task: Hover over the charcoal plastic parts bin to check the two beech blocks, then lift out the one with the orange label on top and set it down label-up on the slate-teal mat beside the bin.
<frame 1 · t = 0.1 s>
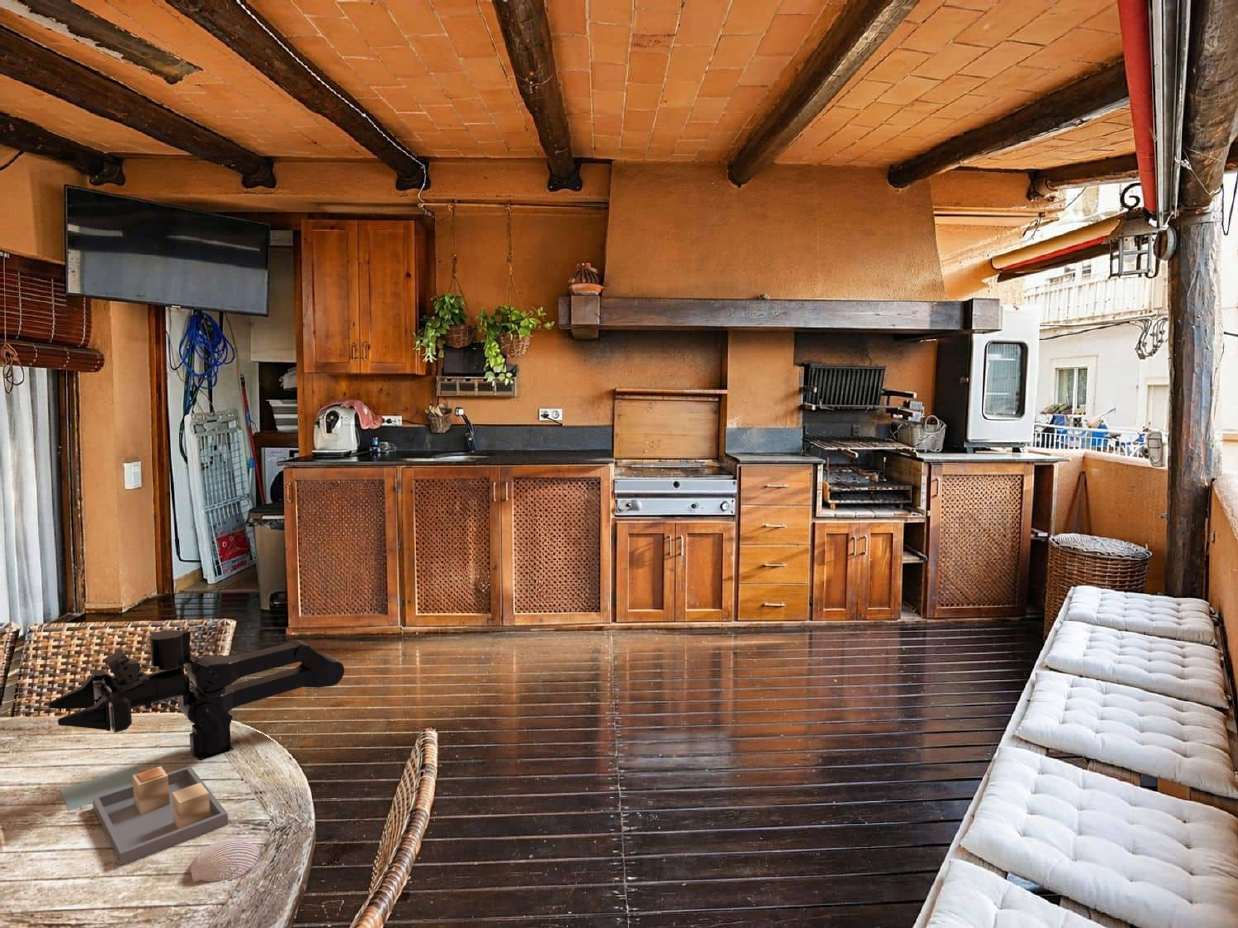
hand: (53, 713, 132), 17 cm above the table, tool horizontal, fingers open, 9 cm apart
labelled block: (152, 804, 133), resting on parts bin
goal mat: (104, 789, 138), on the table
plain block: (192, 822, 127), resting on parts bin
seashell: (224, 867, 117), on the table
parts bin: (159, 818, 129), on the table
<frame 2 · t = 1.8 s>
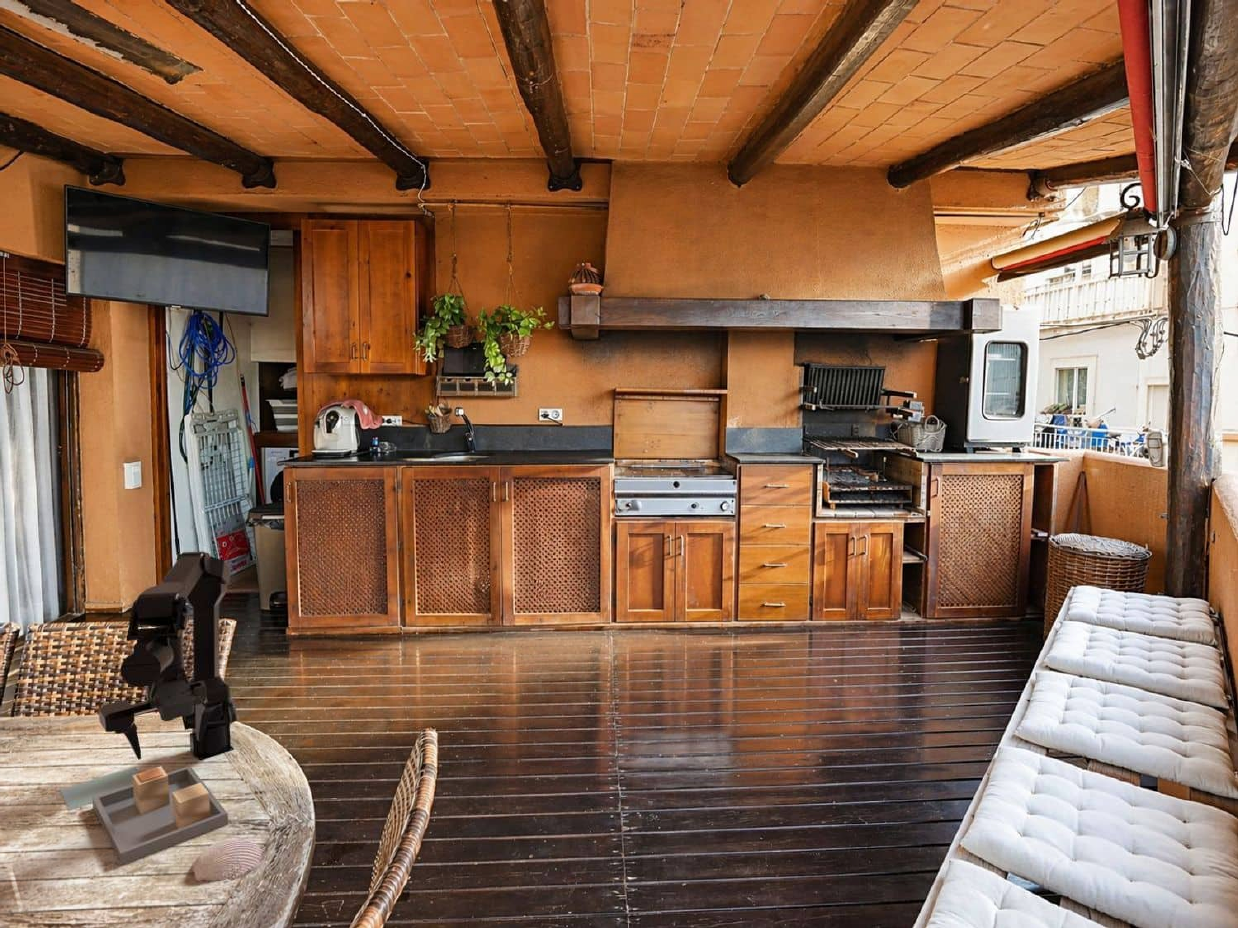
hand: (169, 749, 128), 13 cm above the table, tool pointing down, fingers open, 9 cm apart
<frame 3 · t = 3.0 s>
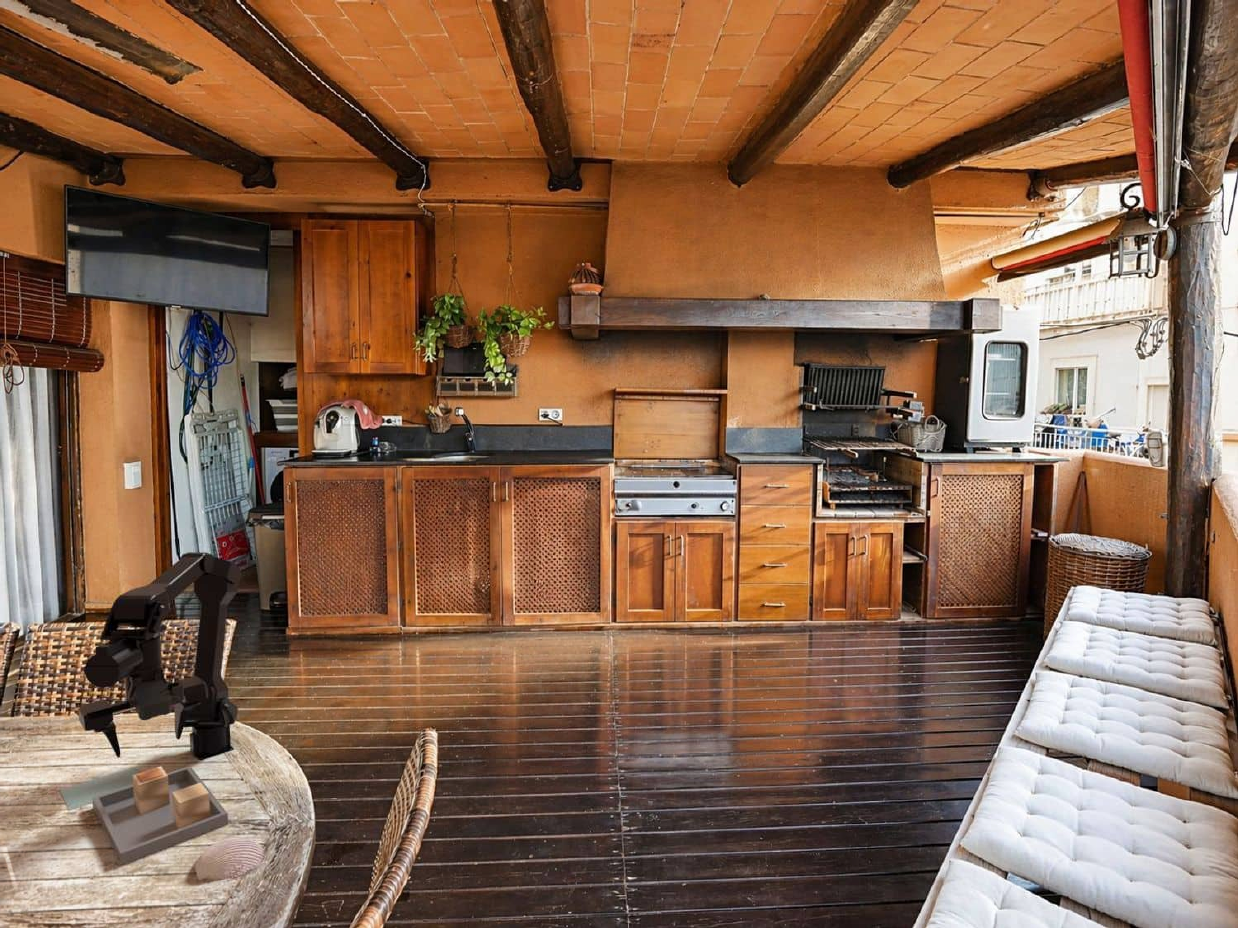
hand: (148, 747, 131), 11 cm above the table, tool pointing down, fingers open, 9 cm apart
nothing on the table moved.
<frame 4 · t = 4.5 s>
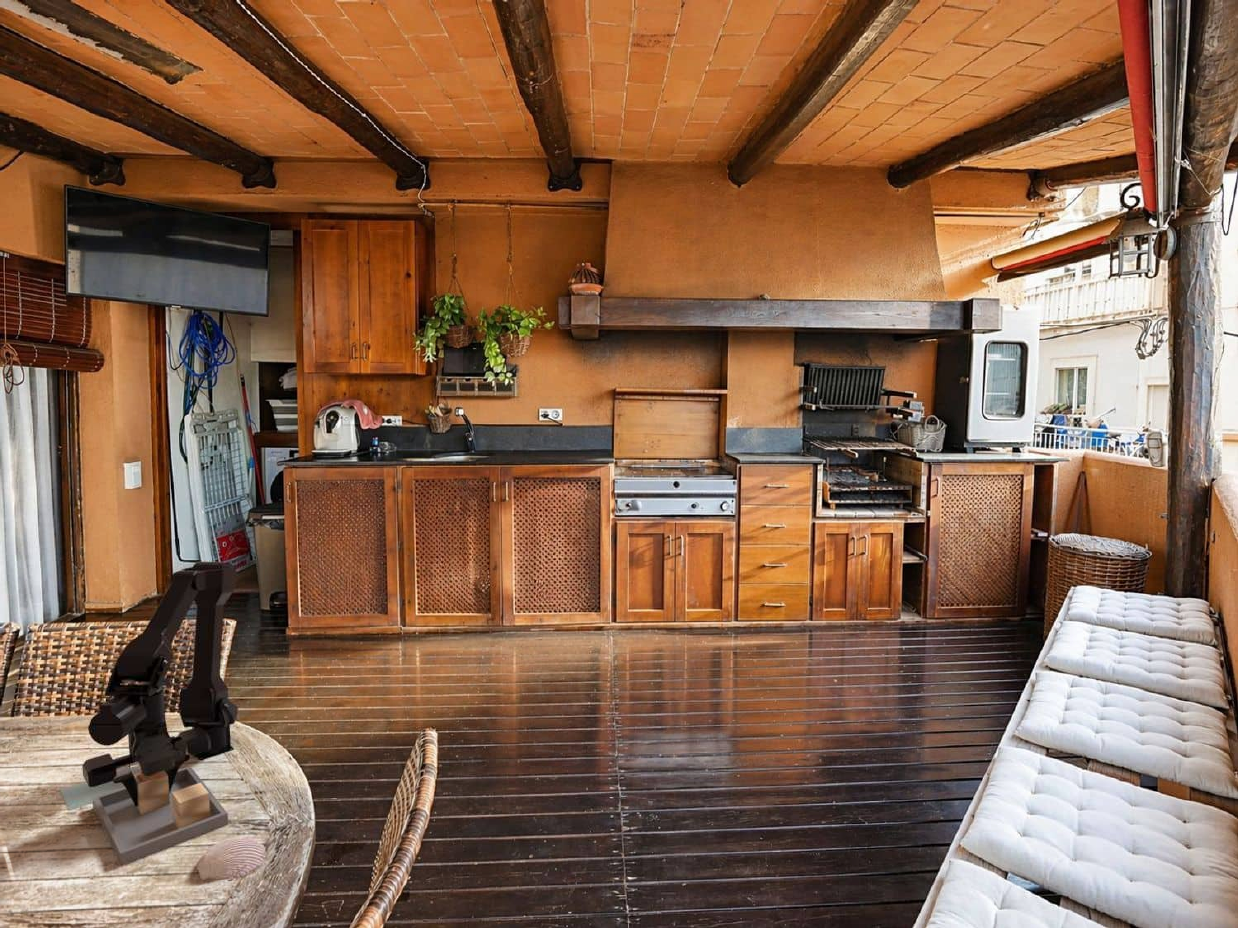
hand: (151, 799, 133), 1 cm above the table, tool pointing down, fingers closed on labelled block, 4 cm apart
labelled block: (152, 804, 133), point 1 cm above the table, touching gripper, parts bin
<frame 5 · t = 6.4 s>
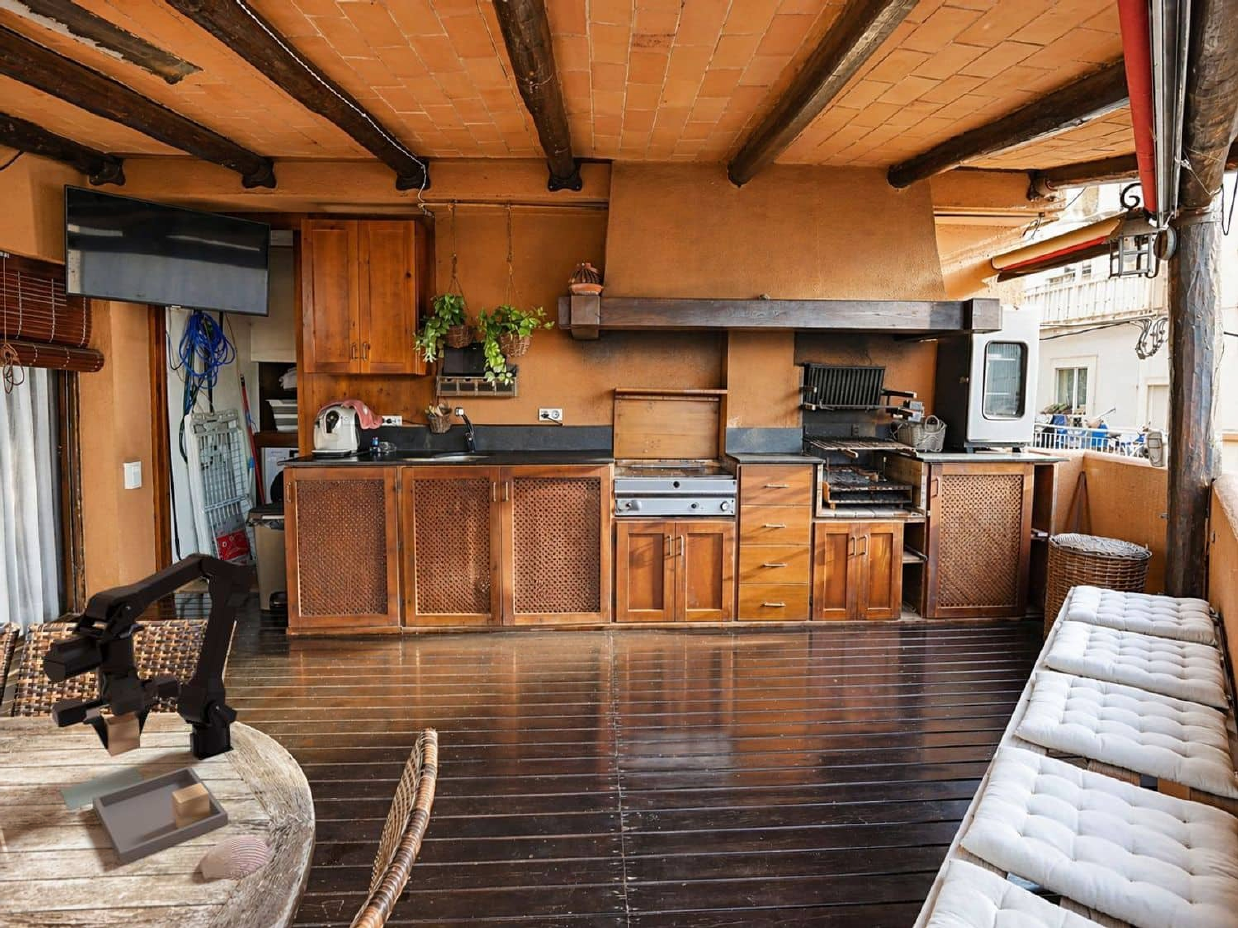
hand: (122, 743, 134), 10 cm above the table, tool pointing down, fingers closed on labelled block, 4 cm apart
labelled block: (122, 747, 134), point 10 cm above the table, touching gripper
when the fingers open (3 cm above the table, at t = 8.5 s): labelled block drops 1 cm, resting on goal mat.
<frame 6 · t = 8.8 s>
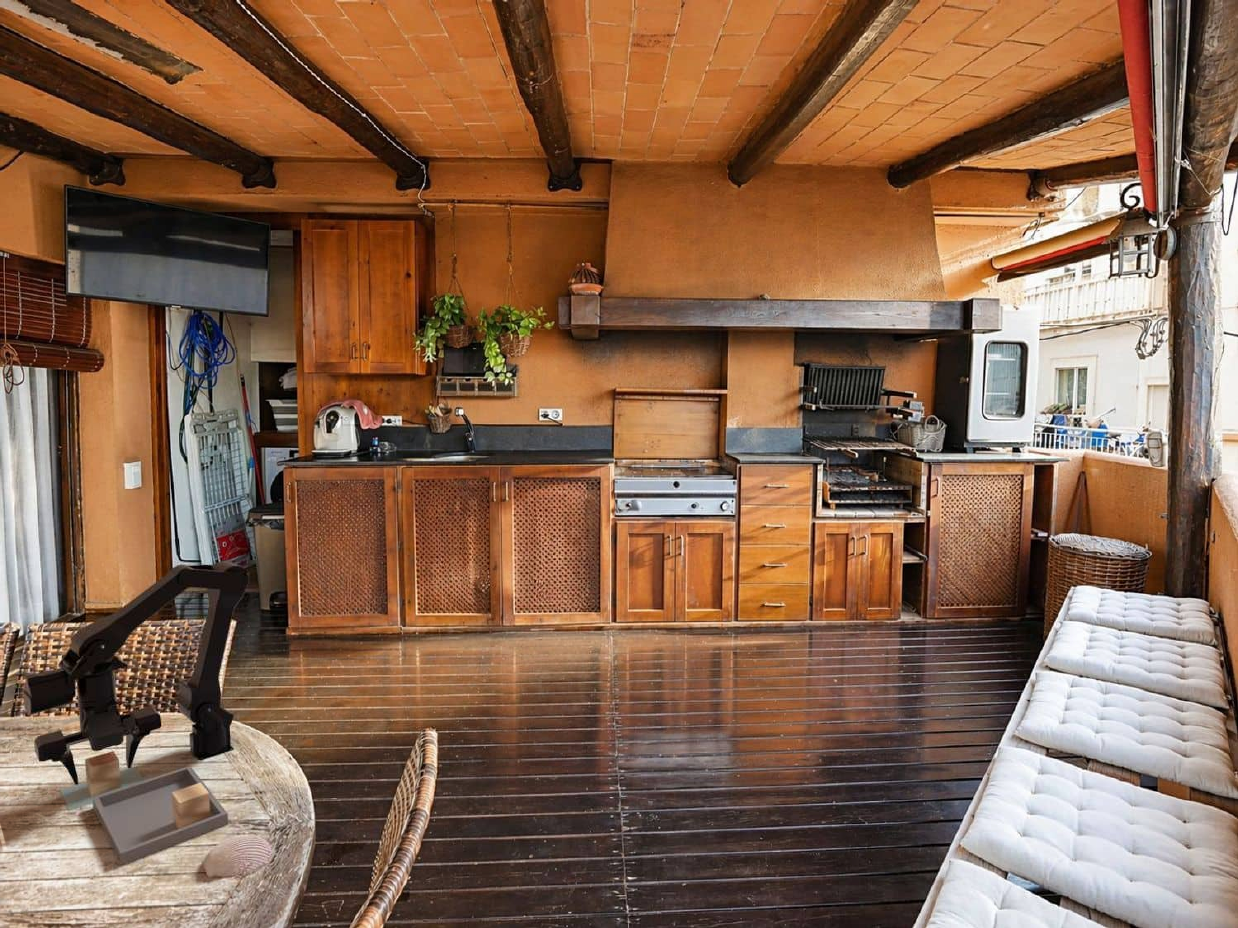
hand: (103, 775, 138), 3 cm above the table, tool pointing down, fingers open, 8 cm apart
labelled block: (103, 787, 138), resting on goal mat
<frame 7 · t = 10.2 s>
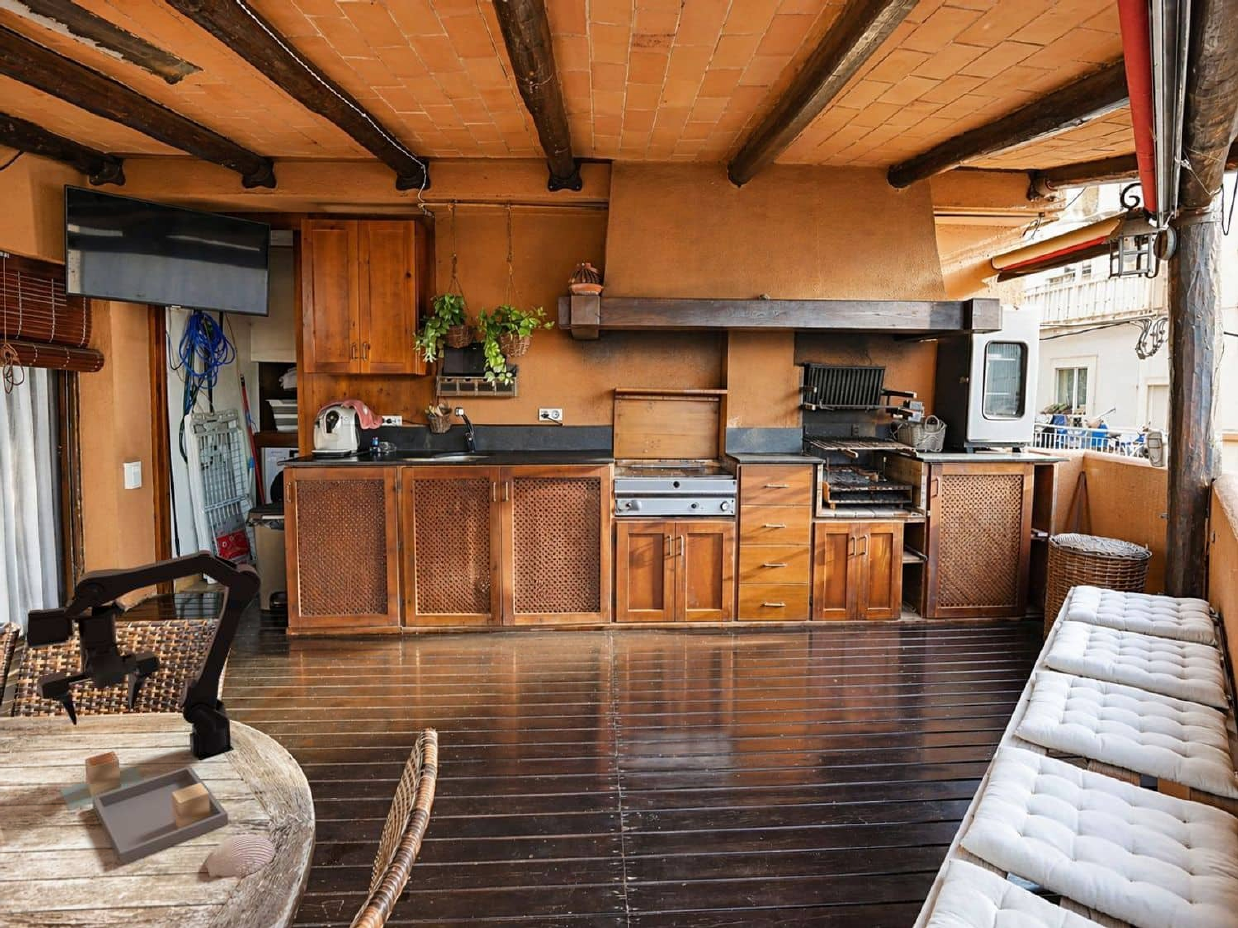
hand: (104, 716, 142), 12 cm above the table, tool pointing down, fingers open, 9 cm apart
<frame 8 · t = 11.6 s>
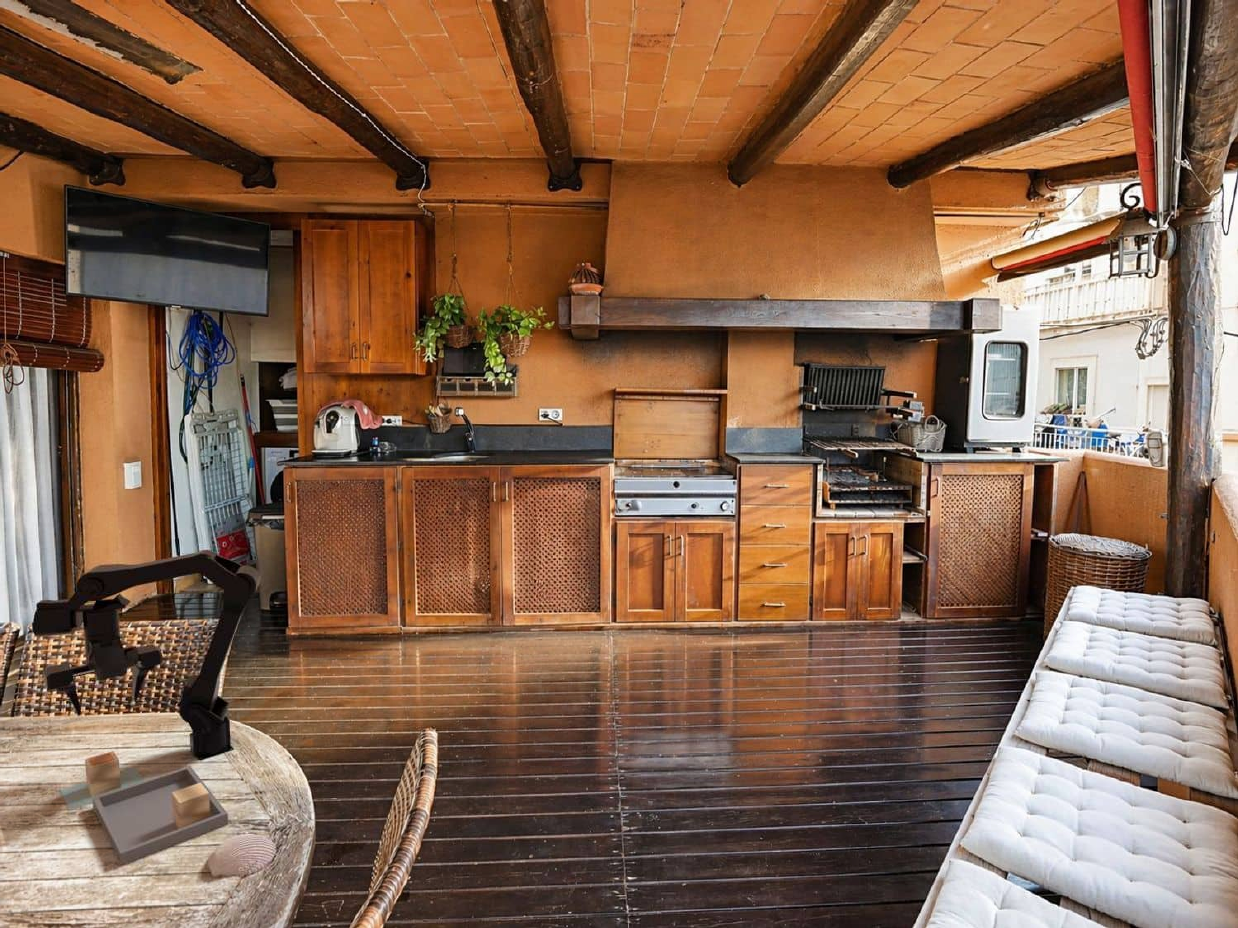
hand: (107, 707, 145), 12 cm above the table, tool pointing down, fingers open, 9 cm apart
at the end: labelled block inside the target area on the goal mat (0.0 cm from its centre), point 0.5 cm above the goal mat's base; labelled block tilted 0°; plain block moved 0.0 cm from its start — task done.
